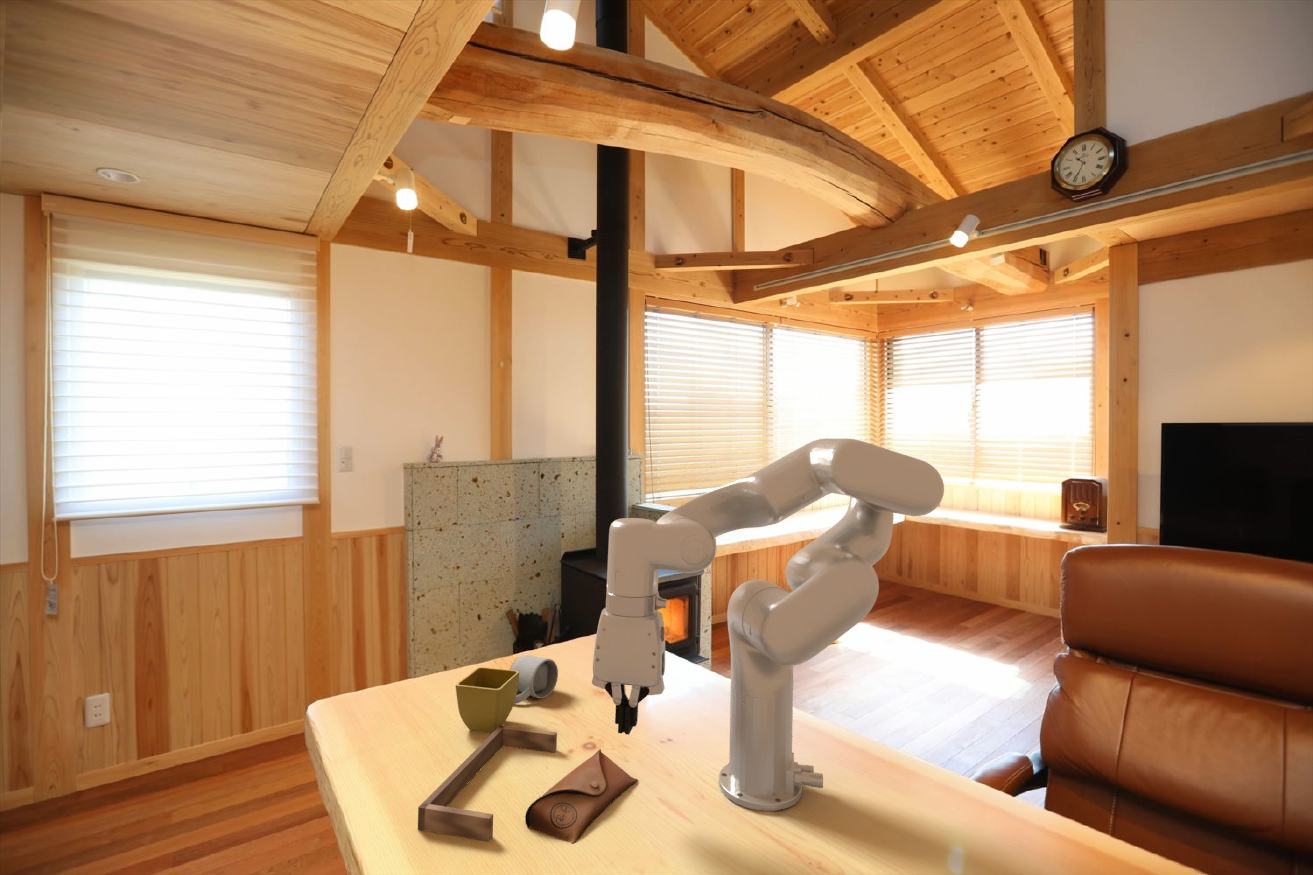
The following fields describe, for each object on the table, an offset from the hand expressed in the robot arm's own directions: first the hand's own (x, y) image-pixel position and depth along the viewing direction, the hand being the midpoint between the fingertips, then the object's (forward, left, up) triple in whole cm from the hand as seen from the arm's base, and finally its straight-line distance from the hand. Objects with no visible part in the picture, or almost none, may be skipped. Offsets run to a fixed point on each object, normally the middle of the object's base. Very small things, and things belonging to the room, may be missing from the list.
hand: (625, 729), depth 87 cm
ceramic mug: (+29, -32, -11) cm, 44 cm away
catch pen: (+21, 0, -11) cm, 23 cm away
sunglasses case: (+6, 0, -12) cm, 13 cm away
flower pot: (+31, -17, -11) cm, 37 cm away
